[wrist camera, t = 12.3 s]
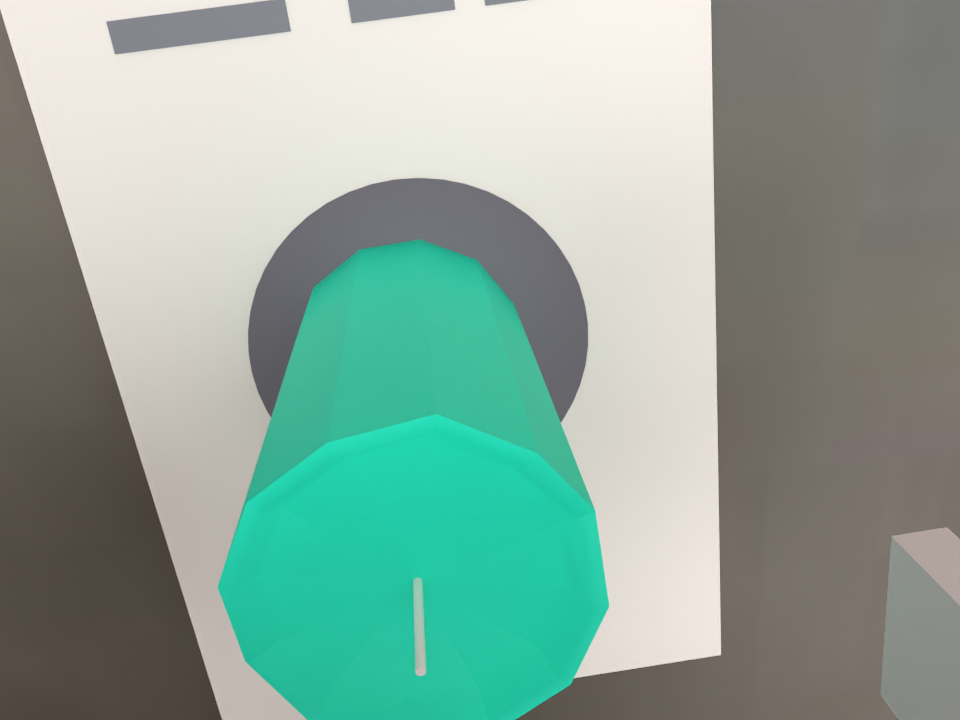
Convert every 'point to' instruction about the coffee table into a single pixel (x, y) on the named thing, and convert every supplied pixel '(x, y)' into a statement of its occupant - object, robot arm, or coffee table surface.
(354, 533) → the candle
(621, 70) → the paper pad
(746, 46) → the coffee table surface
